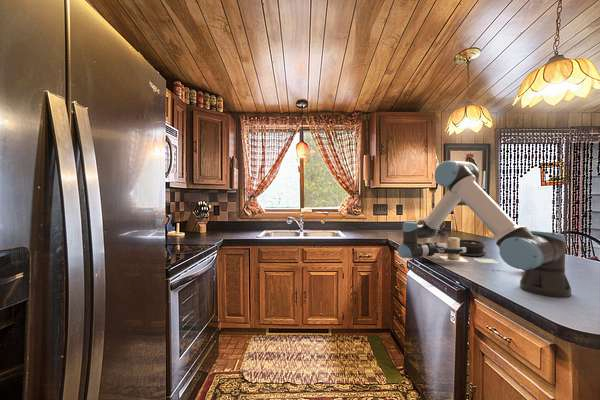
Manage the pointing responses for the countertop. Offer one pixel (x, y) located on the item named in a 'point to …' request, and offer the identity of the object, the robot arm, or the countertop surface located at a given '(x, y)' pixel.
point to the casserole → (472, 247)
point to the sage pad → (486, 260)
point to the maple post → (453, 243)
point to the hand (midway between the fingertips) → (455, 247)
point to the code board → (453, 260)
